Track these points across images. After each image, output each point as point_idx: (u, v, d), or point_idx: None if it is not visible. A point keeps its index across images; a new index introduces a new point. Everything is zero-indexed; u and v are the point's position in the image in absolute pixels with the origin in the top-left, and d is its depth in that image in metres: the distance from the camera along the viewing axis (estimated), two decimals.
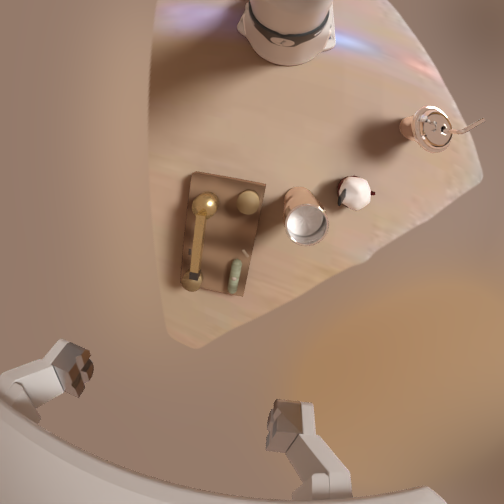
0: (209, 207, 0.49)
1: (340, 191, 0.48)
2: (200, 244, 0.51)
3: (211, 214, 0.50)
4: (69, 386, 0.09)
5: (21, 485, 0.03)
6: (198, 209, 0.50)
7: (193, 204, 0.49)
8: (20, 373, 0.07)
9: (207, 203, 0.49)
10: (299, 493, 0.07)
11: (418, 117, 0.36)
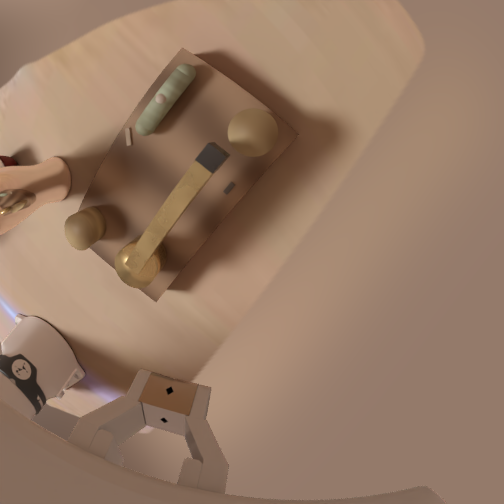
0: (124, 263, 0.26)
1: None
2: (154, 220, 0.22)
3: (125, 251, 0.25)
4: (157, 420, 0.09)
5: (21, 485, 0.03)
6: (142, 271, 0.26)
7: (147, 282, 0.26)
8: (103, 416, 0.07)
9: (125, 270, 0.26)
10: None
11: None
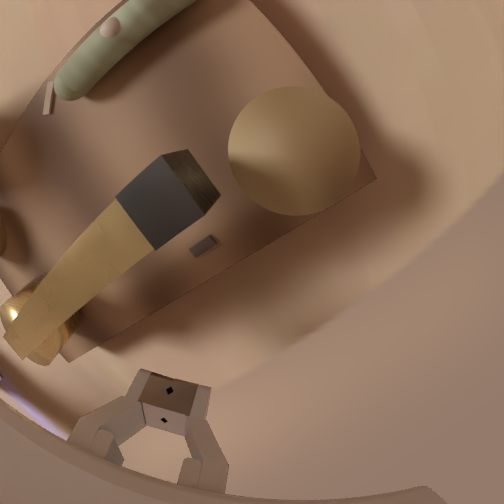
0: None
1: None
2: (33, 300, 0.08)
3: (10, 309, 0.11)
4: (157, 420, 0.09)
5: (21, 485, 0.03)
6: None
7: (44, 362, 0.12)
8: (103, 416, 0.07)
9: None
10: None
11: None
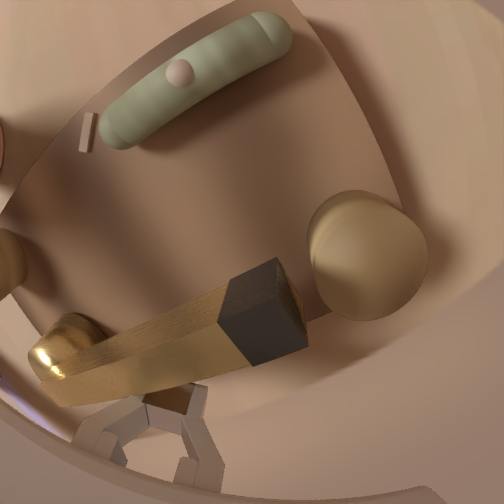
0: (42, 366, 0.11)
1: None
2: (90, 374, 0.08)
3: (43, 355, 0.11)
4: (160, 421, 0.09)
5: (21, 485, 0.03)
6: None
7: None
8: (107, 418, 0.07)
9: (43, 373, 0.12)
10: None
11: None
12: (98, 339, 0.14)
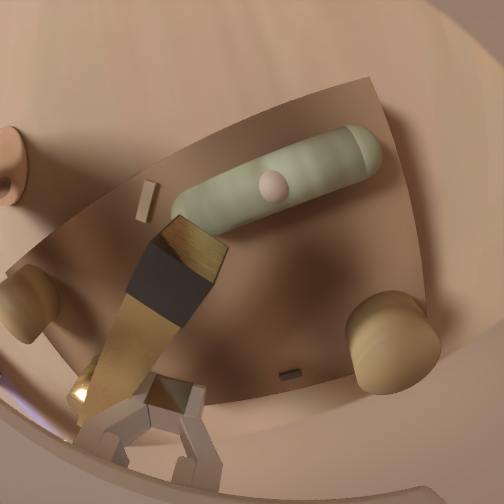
0: (81, 409, 0.13)
1: None
2: (91, 391, 0.09)
3: (76, 397, 0.12)
4: (162, 422, 0.09)
5: (21, 485, 0.03)
6: None
7: None
8: (109, 419, 0.07)
9: None
10: None
11: None
12: None
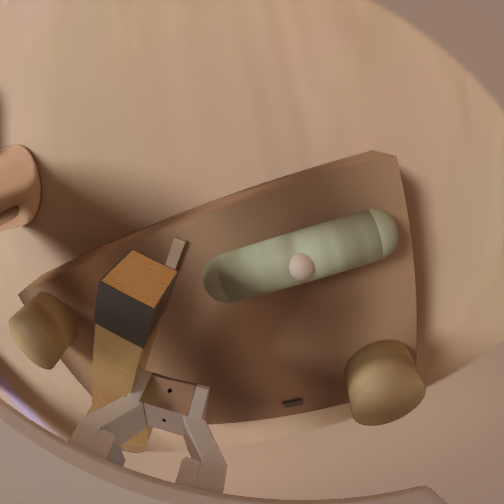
0: None
1: None
2: (95, 410, 0.10)
3: None
4: (158, 421, 0.09)
5: (21, 485, 0.03)
6: None
7: (140, 449, 0.14)
8: (104, 417, 0.07)
9: None
10: None
11: None
12: None
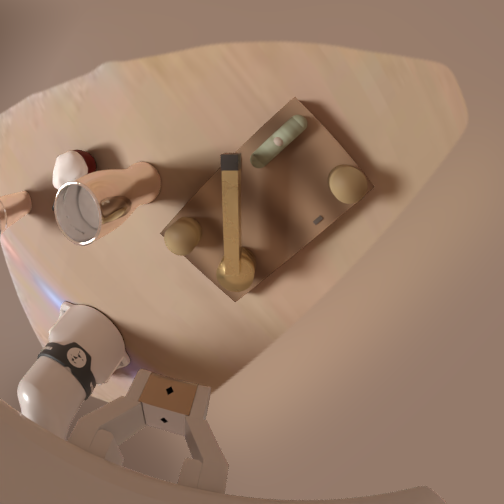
0: (226, 277, 0.33)
1: None
2: (224, 228, 0.29)
3: (221, 268, 0.33)
4: (157, 420, 0.09)
5: (21, 485, 0.03)
6: (242, 273, 0.33)
7: (251, 278, 0.33)
8: (103, 416, 0.07)
9: (230, 282, 0.34)
10: None
11: None
12: None
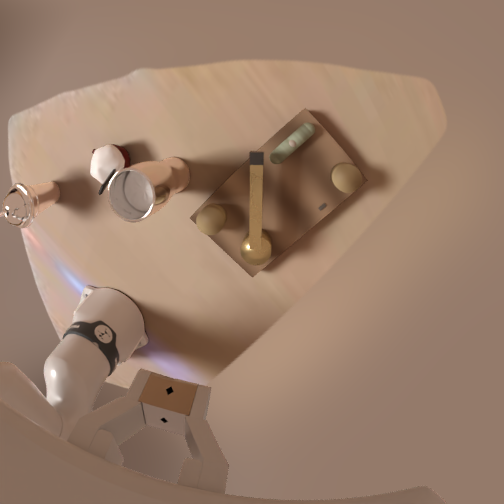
0: (248, 252, 0.41)
1: None
2: (250, 210, 0.37)
3: (244, 244, 0.40)
4: (157, 420, 0.09)
5: (21, 485, 0.03)
6: (262, 249, 0.40)
7: (269, 253, 0.41)
8: (103, 416, 0.07)
9: (251, 257, 0.41)
10: None
11: (27, 222, 0.38)
12: None
